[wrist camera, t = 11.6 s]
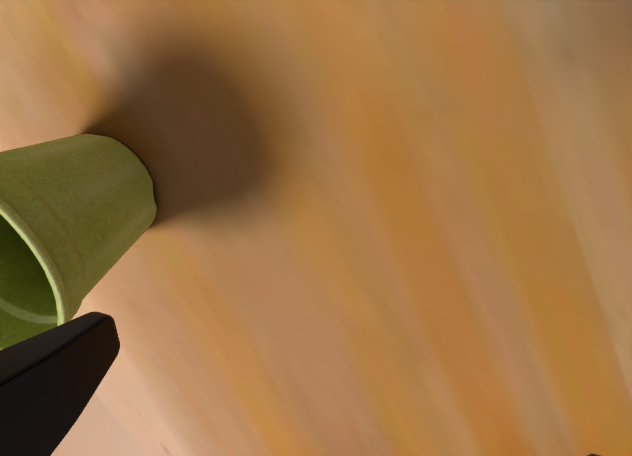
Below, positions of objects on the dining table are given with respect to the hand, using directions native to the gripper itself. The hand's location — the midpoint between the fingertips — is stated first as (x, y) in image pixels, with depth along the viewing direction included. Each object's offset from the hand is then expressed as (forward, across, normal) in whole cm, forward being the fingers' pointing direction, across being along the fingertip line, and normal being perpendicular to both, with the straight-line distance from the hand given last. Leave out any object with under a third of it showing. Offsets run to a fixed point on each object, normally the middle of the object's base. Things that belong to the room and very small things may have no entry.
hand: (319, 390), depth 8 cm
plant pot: (+13, +16, +4) cm, 21 cm away
